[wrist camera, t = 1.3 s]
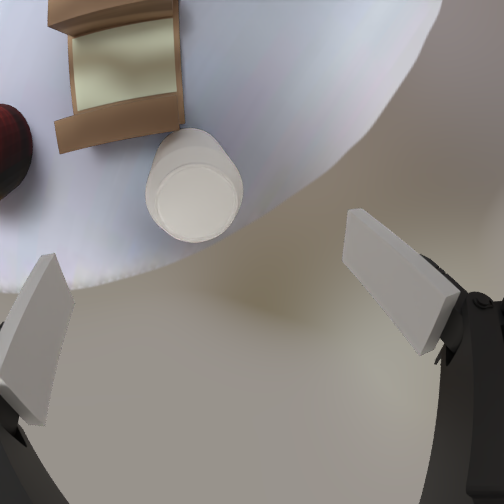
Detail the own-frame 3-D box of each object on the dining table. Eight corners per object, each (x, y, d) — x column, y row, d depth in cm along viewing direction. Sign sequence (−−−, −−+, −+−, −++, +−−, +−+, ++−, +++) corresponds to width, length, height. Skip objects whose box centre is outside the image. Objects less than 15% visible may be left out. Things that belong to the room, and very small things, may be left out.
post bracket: (71, 14, 17) (42, -2, 11) (178, -8, 18) (179, -35, 13) (81, 141, 24) (54, 159, 18) (185, 122, 25) (187, 132, 19)
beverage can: (142, 167, 26) (122, 219, 16) (182, 113, 25) (185, 130, 15) (194, 201, 29) (207, 268, 19) (234, 151, 28) (270, 193, 18)
